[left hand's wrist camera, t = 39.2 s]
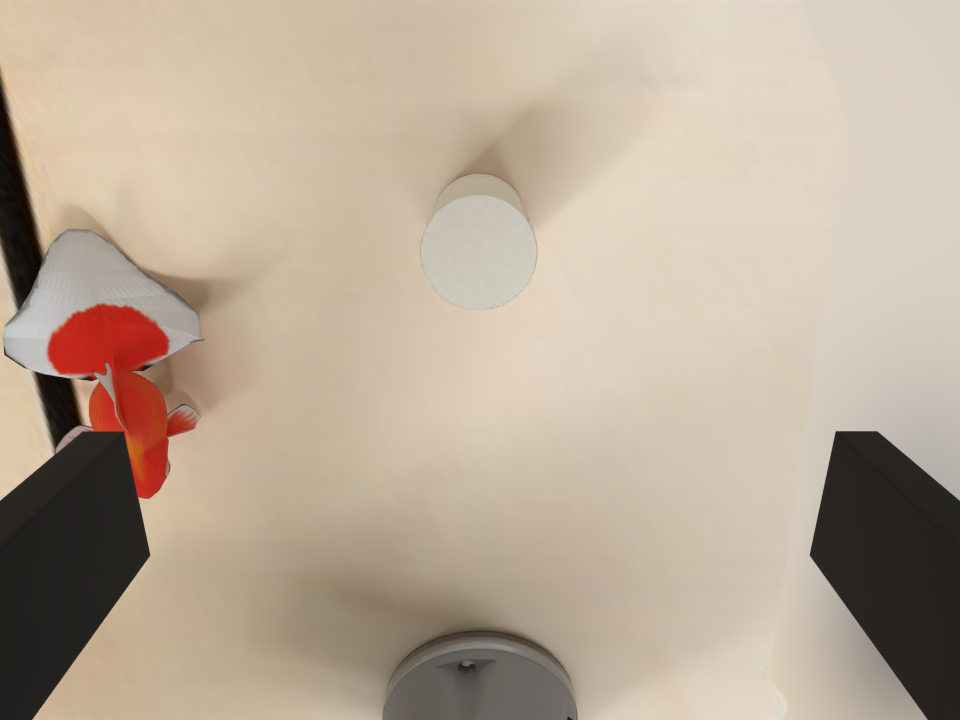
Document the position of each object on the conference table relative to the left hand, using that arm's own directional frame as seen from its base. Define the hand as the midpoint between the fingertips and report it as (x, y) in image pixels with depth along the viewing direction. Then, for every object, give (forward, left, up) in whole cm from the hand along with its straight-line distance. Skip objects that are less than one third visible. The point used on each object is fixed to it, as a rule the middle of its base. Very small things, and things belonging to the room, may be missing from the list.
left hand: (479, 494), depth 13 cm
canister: (0, 0, -30) cm, 30 cm away
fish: (+13, +19, -30) cm, 38 cm away
